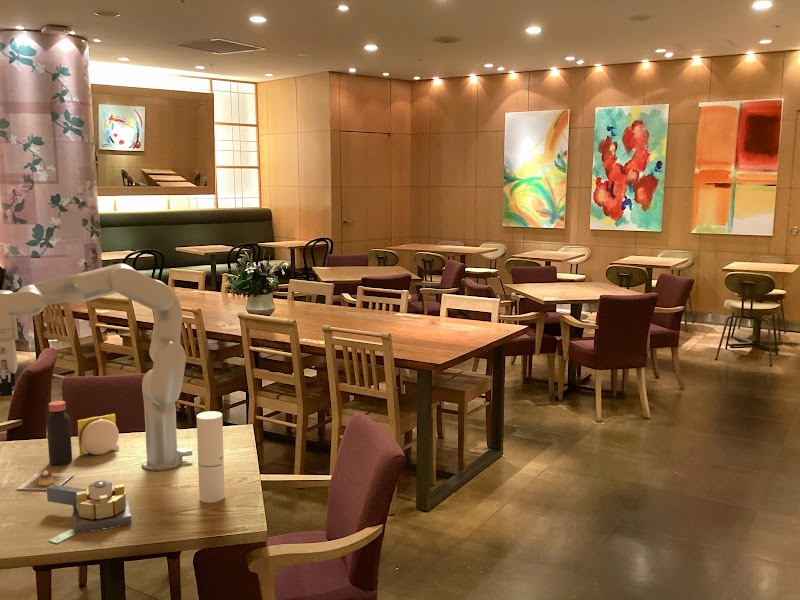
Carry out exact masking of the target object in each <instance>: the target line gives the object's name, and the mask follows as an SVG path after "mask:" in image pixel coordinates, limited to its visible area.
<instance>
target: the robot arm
mask: <svg viewBox="0 0 800 600" xmlns="http://www.w3.org/2000/svg"><path fill="white" fill-rule="evenodd" d="M114 294H119V295H121V296H122V297H125V298H127V299H129V300H131V301H133V302H135V303H138V304H139V305H141V306H144V307H146V308H148V309H150V310H151V311H153V329H152V335H151V339H150V340H151V342H150V345H149V346H150V347H149V351H148V352H149V357H150V359H151V361H152V362H153V366H152V368H151V369H149V370H148V371H147V372H146V373H145V374H144V376H143V377H142V381H141V389H142V398H143V407H144V423H145V425H144V426H145V427H144V429H145V446H146V447H145V448H146V457H145V458H144V459H142V461H141V466H142V468H143V469H146V470H149V471H158V472H159V471H166V470H167V471H168V470H171V469H175V468H177V467H179V466H180V465H181V464H182V463H183V457H189V456H193V450H192V449H187V448H188V447H186V448H181V449H180V448H179V447H178V440H177V439H178V436H177V413H176V412H177V409H176V401H177V400H178V399H179V398H180V395H181V392H182V387H183V382H184V374H185V369H186V362H187V359H186V357H187V356H186V351H185V349H184V347H183V346H182V344H181V334H182V323H183V309H182V305H181V302H180V300H179V298H178V296H177V294H176V293H175V292H174V291H173V289H172V288H171V287H170V286H169V285H167V283H164V282H163V281H162V280H158V279H154V278H152V277H149V276H148V275H146V274H144V273H141V271H138V270H136V269H134V268H133V267H132V266H130V265H128V264H126V263H116V264H112V265H107V266H104V267H100V268H97V269H93V270H88V271H85V272H79V273H76V274H71V275H66V276H62V277H57V278H52V279H47V280H44V281H40V282H36V283H31V284H28V285H25V286H22V287H20V288H19V289H18V290H17V291H16V292H13V291H12V290H10V289H9V290H7V289H0V397H9V396H13V393H14V392H13V387H15V386H16V381H15V380H16V379H15V374H16V373H17V371H18V368H19V367H18V365H19V364H18V356H17V347H16V341H15V340H16V339H18V338H19V332H18V321H17V316H23V317H25V316H26V317H33V316H37V315H39V314H40V313H42V311H43V310H44V308H45V307H47V306H51V305H55V304H61V303H64V302H65V303H66V302H73V303H75V302H76V303H82V302H83V303H84V302H89V301H92V300H95V299H99V298H102V297H106V296H111V295H114Z"/></svg>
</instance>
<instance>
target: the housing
mask: <svg viewBox="0 0 800 600" xmlns="http://www.w3.org/2000/svg"><path fill="white" fill-rule="evenodd" d="M112 486H113V483H112V482H110V481H107V480H97V481H93V483H90V484H89V485H88V486H87V487H88V488H87V489H88V491H89V500H92V501H99V495H102V494H106V495H107V499H109V498H111V497H112V496H113V492H112ZM125 498H126V507H125V509H124V510H122V511H121V512H119V513H118V514H117V515H113V516H111V517H106V518H101V519H96V518H95V519H88V518H81V517H80V516H78V512H77V506H74V505H72V506H73V507H72V508H73V510H72V511H73V526H74V527H73V528H74V529H73V528H70V529H68V530H66V531H64V532H62V533H60V534H58V535H56V536H53V537H52V538H50V539H48V542H49V543H52V544H55V545H58V544H60V543H62V542H64V541H66V540H69V539H70V538H72V537H74V536H76V535H79V533H80V534H84V533H83V532H86V533H89V532H88V531H92V530H98V529H103V528H110V529H112V528H111V527H115V528H118V527H117V526H121V527H125V526H124V525H127V526H130V525H129V524H132V514H131V510H130V506H129V505H130V504H129V501H128V495H125ZM98 531H99V530H98ZM92 532H93V531H92Z"/></svg>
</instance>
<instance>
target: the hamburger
mask: <svg viewBox="0 0 800 600" xmlns="http://www.w3.org/2000/svg"><path fill="white" fill-rule="evenodd" d="M116 420H117V419H116V413H111V414H105V415H101V416H91V417H89V418H85V419H83V418H82V419H79V420H77V438H78V439H77V440H78V448H79V451H78V452H79V456H80V455H81V456H85V455H84V454H86V455H89V453H90V454H92V455H96V456H100V455H105V454H107V453H109V452H110V451H119V450H120V446H119V445H118V441H119V437H120V435H119V434H120V433H119V432H120V431H119V429H118V427H117V423H116Z"/></svg>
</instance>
